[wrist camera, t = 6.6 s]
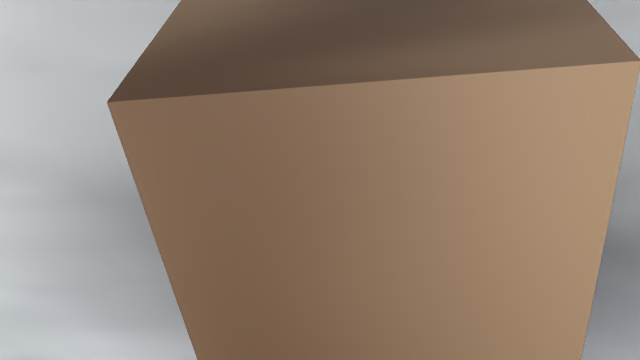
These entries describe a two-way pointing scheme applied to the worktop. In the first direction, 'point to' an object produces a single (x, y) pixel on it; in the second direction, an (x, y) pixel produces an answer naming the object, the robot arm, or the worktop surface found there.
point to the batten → (380, 173)
